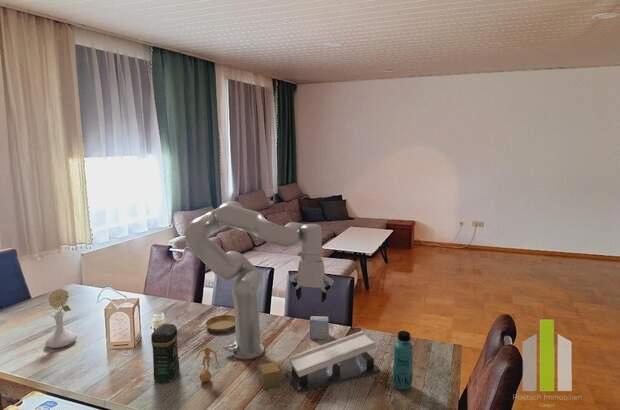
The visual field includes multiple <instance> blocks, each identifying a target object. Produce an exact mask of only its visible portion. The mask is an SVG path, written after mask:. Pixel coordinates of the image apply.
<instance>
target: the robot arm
mask: <svg viewBox="0 0 620 410" xmlns="http://www.w3.org/2000/svg"><path fill="white" fill-rule="evenodd" d="M226 227H228V228H232V229H236V230H239V231H242V232H245V233H249V234H253V235H254V236H255V237H257V238H259V239H261V240H262V241H265V242H266V243H269V244H272V245H276V246H279V247H284V248H293V247H295V246H296V245H297V244H299V242H301V252H298V253H297V256H298V257H300V259H299V261H298V267H297V273H295V274H293V275H290V276H289V280H290V282H291V285H292V286H293V287H294V289H295V296H296V297H297V300H300V299H301V298H302V287H303V288H305V287H306V288H313V289H314V288H315V289H321V291H322V292H321V303H324V302H325V301H326V300H327V297H328V296H327V292H328V290H329V291H330V289H331V288H332V286H333V284H334V282H335V281H334V280H333V279H332V278H330V277H328V276H327V275H326V274H325V273H326V271H325V270H326V269H325V264H324V260H323V258H322V255H323V254H322V252H323V251H322V250H323V249H322V247H323V245H322V243H323V241H322V240H323V239H322V237H323V235H322V234H323V231H322V228H323V227H322V226H321V225H320V224H318V223H301V222H295V221H290V222H288V223H286V224H285V225H280V224H278V223H274V222H272V221H269V220H268V219H266V218H265V216H264V215H263V214H262V213H261V212H259V211H256V210H252V209H249V208H245V207H243V205H242V204H241V203H240V202H238V201H236V200H235V201H234V200H229V201H226V202H224V203H222V204H220V205H219V206H218V207H217V208H215V209H213V210H210V211H209V212H207V213H205V214H203V215H200V216H199V217H196V218H195V219H193V220H191V222H189V223H188V225H187V227H186V229H185V234H184V239H185V243H186V245H187V248H188V249H189V250H190V252H192V253H193V254H194V255H195V256H196V257H197V258H198V259H199V260H201V261H202V262H203V264H205V265H206V267H207V268H208V269H210V270H211V272H213V273H214V275H216V276H217V278H219V279H220V280H222V281H225V282H229V281H232V280H233V279H235V281H234V283H233V285H232V290H231V297H232V302H233V309H234V316H235V327H234V328H235V329H234V330H235V331H234V332H235V339H234V341H233V343H231V344H225V345H224V346H223V350H224V352H226V351H228V353H232V355H233V357H235V358H236V359H239V360H243V361H244V360H254V359H256V358H258V357H259V358H260V356H263V354H264V352H265V346H264V344H262V343H261V332H260V310H259V309H260V306H259V302H258V301H259V300H258V292H259V291H260V289H261V288H262V286H263V283H264V277H263V275H262V273H261V272H260V270H259V269H258V268H257V267H256V266H255V265H254V264H253V263H252V262H250V261H249V259H248V258H247V257H245V256H244V255H243V253H240V252H238V251H236V250H229V251H227V252H226V251H224V249H222V248H221V247H220V246H219V245H218V244H217V243H216V242H214V241H213V240H211V239H210V238H209V237H211V236H212V235H214V234H216V233H218V231H221V230H222V229H225V228H226ZM295 279H297V280H295ZM326 282H327V283H328V284H327V285H326Z"/></svg>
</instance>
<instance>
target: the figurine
mask: <svg viewBox="0 0 620 410" xmlns="http://www.w3.org/2000/svg"><path fill="white" fill-rule="evenodd" d="M201 352H204V356H203V359H202V363H201V364H202V365H203V369H202V370H201V372H200V374H199V380H200V381H201V382H203V383H207V382H209V381H210V380H211V378H212V373H211V371H210V369H209V368H210V363H211V362H210V361H211V359H212V358H211V356H210V355H211V353H213V354H214V355H215V356H214V358H215V360H214V361H215V362H216V363H218V357H217V352H216V351H214V350H213V349H212V347H211V346H205V347H204V348H203V349H200V350H199V352H198V353H197V355H196V357H195V360H197V359H198V357H199V355H200V354H201ZM206 366H207V368H206Z"/></svg>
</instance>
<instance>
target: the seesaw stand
mask: <svg viewBox="0 0 620 410" xmlns="http://www.w3.org/2000/svg"><path fill="white" fill-rule="evenodd" d="M380 372H381V369H380V367H378V365H376V364H375V359H374V357H373V356H372V355H371V354H370V353H368V351H367V352H364V353H361V354H359V355H356V356H354V357H351V358H348V359H346V360H343V361H340V362H338V363H335V364H333V365H330V366H327V367H325V368H322V369H319V370H317V371H314V372H311V373H309V374H306V375H304V376H301V377H299V376H298V375H297V373H296V371H295V370H294V368H293V367H292V366H291V370H288V371H286V372H285V375H286V376H287V378H288V380H289V382H290V384H291V385H292V387H293V388H294V390H295V392H296V393H297V394H301V393H304V392H308V391H312V390H316V389H320V388H323V387H324V388H325V387H328V386H332V385H335V384H339V383H344V382H348V381H351V380H355V379H360V378H363V377H367V376H371V375H374V374H379V373H380Z"/></svg>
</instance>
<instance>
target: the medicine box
mask: <svg viewBox="0 0 620 410" xmlns="http://www.w3.org/2000/svg"><path fill="white" fill-rule="evenodd" d="M329 319H330V318H329V316H317V315H315V316H313V315H311V316H310V318H309V339H310V340H329V337H330V336H329V335H330V331H329V329H330V328H329V327H330V325H329Z"/></svg>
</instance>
